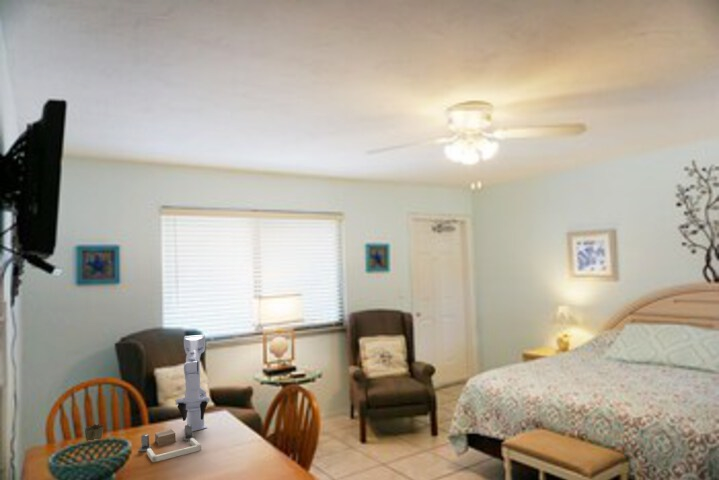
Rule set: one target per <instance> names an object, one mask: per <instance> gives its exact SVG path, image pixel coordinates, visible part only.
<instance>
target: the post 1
mask: <svg viewBox="0 0 719 480" xmlns="http://www.w3.org/2000/svg"><path fill="white" fill-rule="evenodd" d="M140 438H141V440H140V441H141V447H139V448H138V452H139V451H140V453H145V452H146V453H147V449H149V448H151V449H152V450H153V446H152V445H150V434H148V433H145V434H142V435H140Z"/></svg>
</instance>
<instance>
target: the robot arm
mask: <svg viewBox="0 0 719 480" xmlns="http://www.w3.org/2000/svg"><path fill="white" fill-rule="evenodd" d="M183 348H184V352H185V354H186V356H185V363H183V374H184V380H185V394H184V397H183V398H176V399H175V405H177V409H178V411H179V413H180V414H181V417H182V421H184V422H185V421H186V425H189V424H191V425H192V432H195V431H200V430H205V429H208V426H207V425H205V412H206V408H207V405H208V404H209V403H210V401H211V397H210V396H207V391H206V390H205V389H204V388H202V387H201V355H202V354H203V353H204V352H205V350H206V336H205V334H203V333H202V334H196V335H184V337H183Z"/></svg>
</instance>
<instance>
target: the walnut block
mask: <svg viewBox="0 0 719 480" xmlns="http://www.w3.org/2000/svg"><path fill="white" fill-rule="evenodd" d="M176 439H177V438H176V432H175V431H174V430H173V429H172V428H171V429H170V428H169V429H166V430H162V431H157V432H154V442H155V443H156V444H157V445H158V446H159V445H160V446H164V445H167V444H171V443H175V442H176Z"/></svg>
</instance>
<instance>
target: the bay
mask: <svg viewBox="0 0 719 480" xmlns="http://www.w3.org/2000/svg"><path fill="white" fill-rule="evenodd" d="M189 444H190V445H191V446H188V447H185V448H179V449H175V450H171V451H167V452H164V453H159V454H155V452H154V451H153V448H152V449H151V448H149V449H147V451H146V455H147V456H148V458H149V459H150V461H151V462H152V463H156V462H161V461H164V460H168V459H173V458H176V457H179V456H183V455H187V454H190V453H191V454H192V453H195V452H200V451H202V445H201V444H200V443H199V441H197V440H196V439H194V438H191V439H190V441H189Z"/></svg>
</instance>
